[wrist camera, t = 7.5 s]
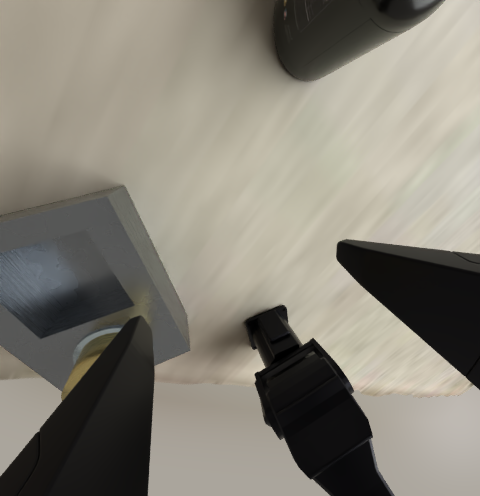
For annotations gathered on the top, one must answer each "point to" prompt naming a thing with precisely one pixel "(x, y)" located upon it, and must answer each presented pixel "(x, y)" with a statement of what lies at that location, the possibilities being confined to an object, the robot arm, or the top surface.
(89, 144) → the top surface
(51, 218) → the housing
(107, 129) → the top surface
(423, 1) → the supplement bottle
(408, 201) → the top surface
